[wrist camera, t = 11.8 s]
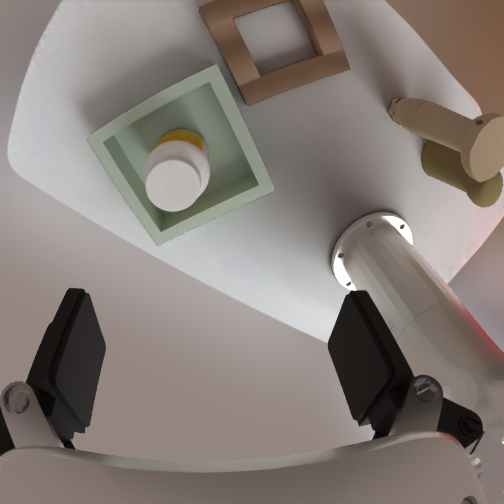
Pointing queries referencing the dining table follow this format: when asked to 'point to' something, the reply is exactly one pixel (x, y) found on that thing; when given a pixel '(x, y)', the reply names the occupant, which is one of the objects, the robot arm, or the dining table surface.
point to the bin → (219, 143)
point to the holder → (285, 78)
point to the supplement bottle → (177, 169)
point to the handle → (456, 133)
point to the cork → (459, 174)
